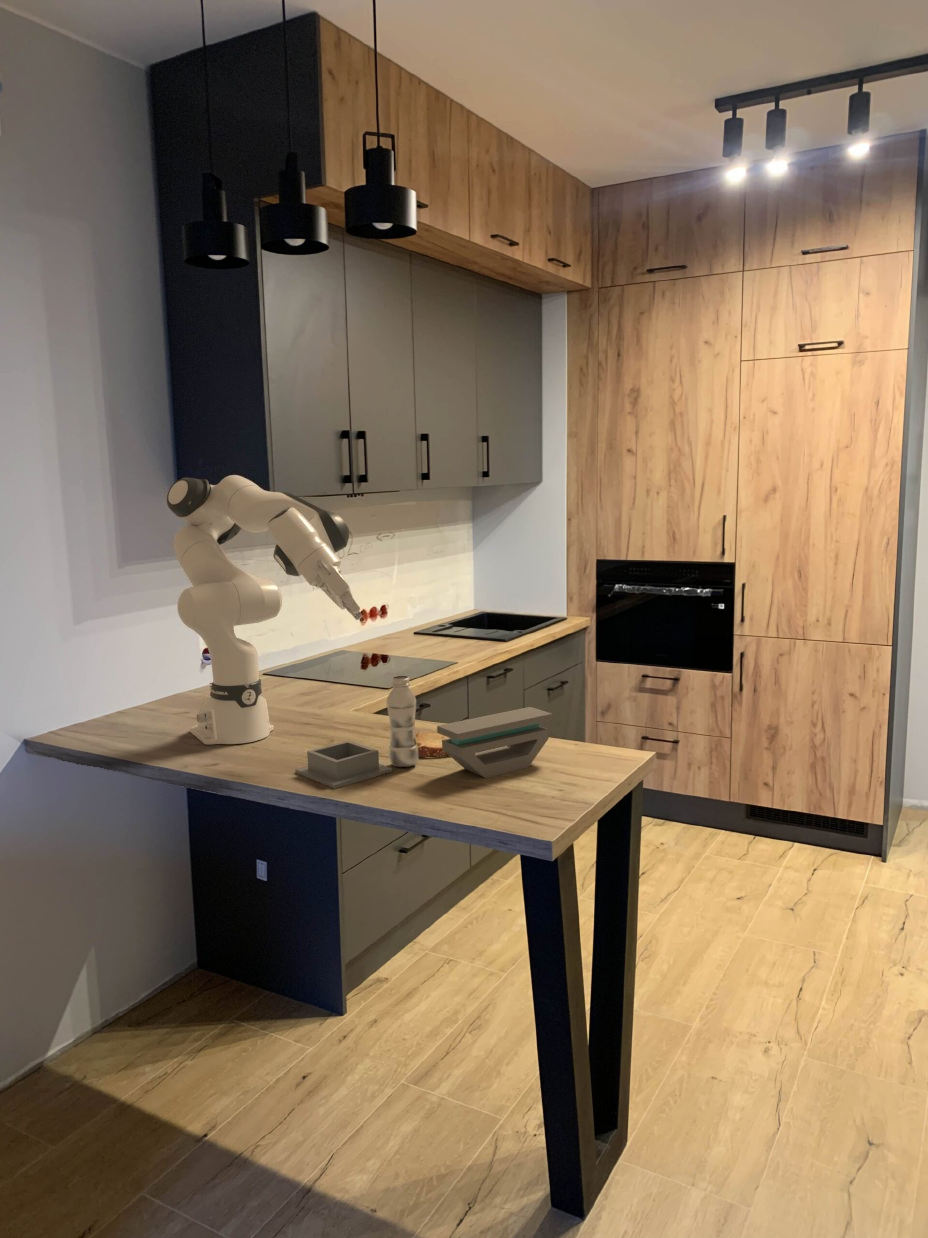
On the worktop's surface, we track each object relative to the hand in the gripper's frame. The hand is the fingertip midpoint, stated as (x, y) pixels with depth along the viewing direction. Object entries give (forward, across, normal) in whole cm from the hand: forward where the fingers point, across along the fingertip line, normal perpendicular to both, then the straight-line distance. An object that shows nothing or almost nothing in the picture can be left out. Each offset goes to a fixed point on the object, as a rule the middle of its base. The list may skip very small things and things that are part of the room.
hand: (358, 615), depth 211 cm
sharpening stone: (+46, -4, -2) cm, 46 cm away
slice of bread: (+36, +11, +3) cm, 38 cm away
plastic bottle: (+33, 0, +13) cm, 35 cm away
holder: (+26, -3, +24) cm, 35 cm away
